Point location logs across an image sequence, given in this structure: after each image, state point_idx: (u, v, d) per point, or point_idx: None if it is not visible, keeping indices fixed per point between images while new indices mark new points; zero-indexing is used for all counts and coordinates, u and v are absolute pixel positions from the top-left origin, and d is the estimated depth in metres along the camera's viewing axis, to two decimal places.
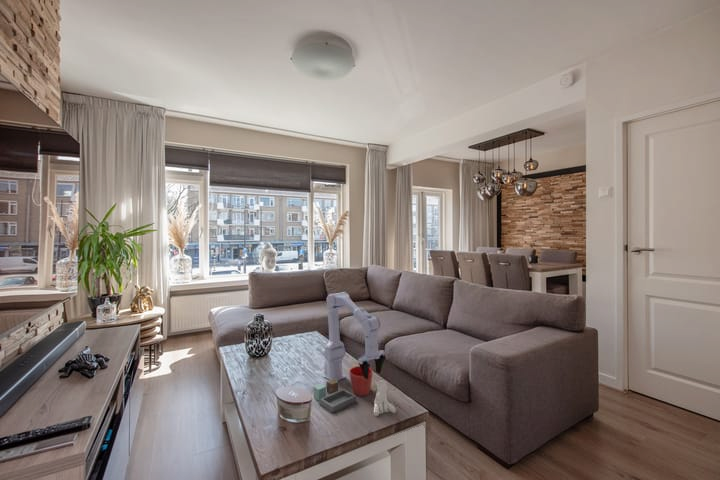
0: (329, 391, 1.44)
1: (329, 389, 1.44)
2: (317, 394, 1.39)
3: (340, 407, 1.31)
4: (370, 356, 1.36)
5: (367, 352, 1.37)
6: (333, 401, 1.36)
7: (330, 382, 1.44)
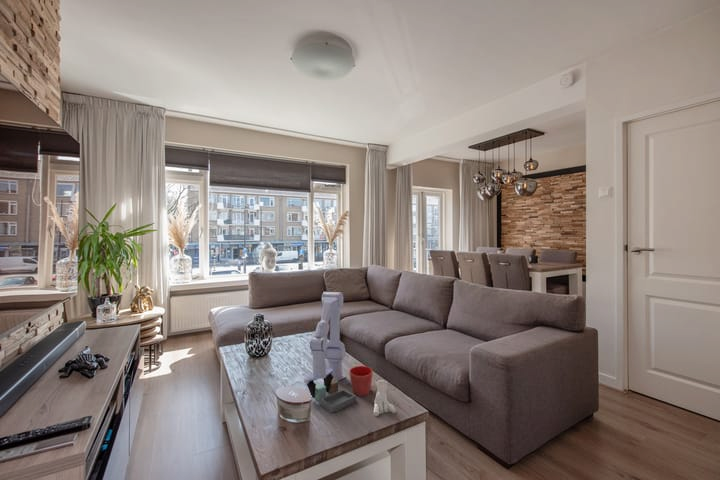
0: (329, 391, 1.44)
1: (329, 389, 1.44)
2: (317, 394, 1.39)
3: (340, 407, 1.31)
4: (317, 376, 1.38)
5: (314, 371, 1.39)
6: (333, 401, 1.36)
7: None
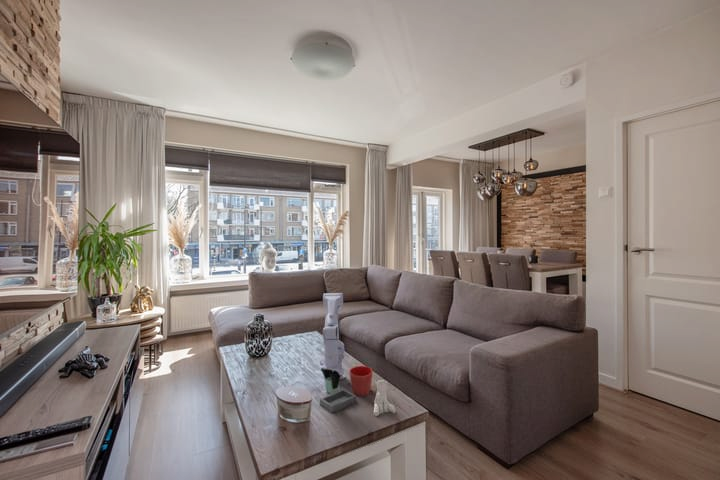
0: None
1: None
2: None
3: (340, 407, 1.31)
4: None
5: None
6: (333, 401, 1.36)
7: None
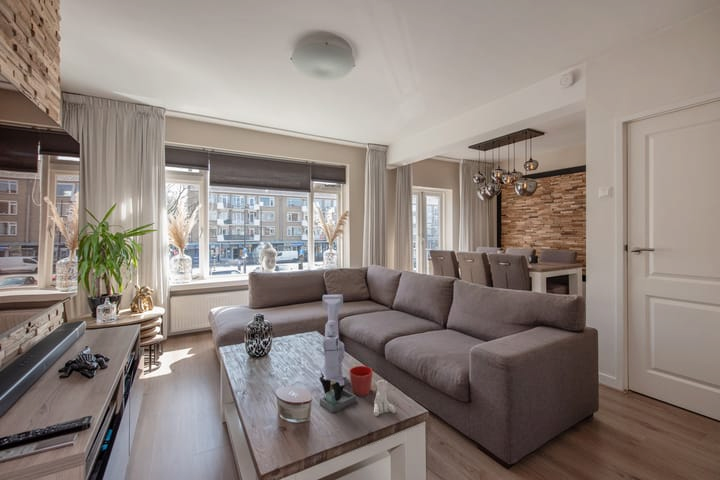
0: None
1: None
2: None
3: (340, 407, 1.31)
4: None
5: None
6: None
7: None
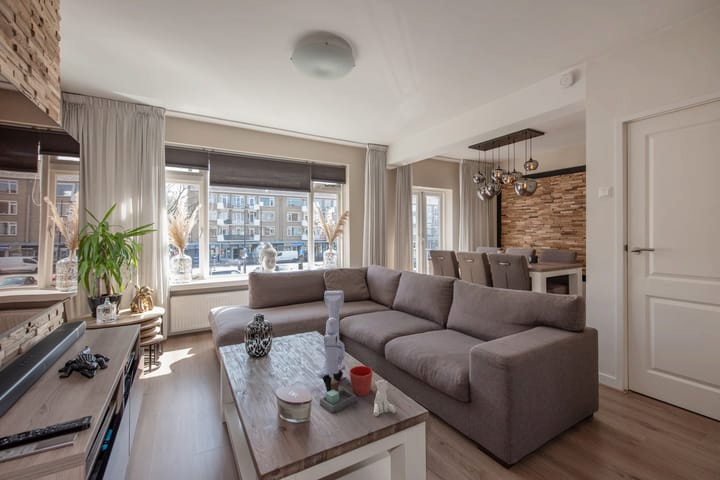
0: None
1: None
2: None
3: (340, 407, 1.31)
4: (329, 371, 1.42)
5: (327, 367, 1.43)
6: None
7: None
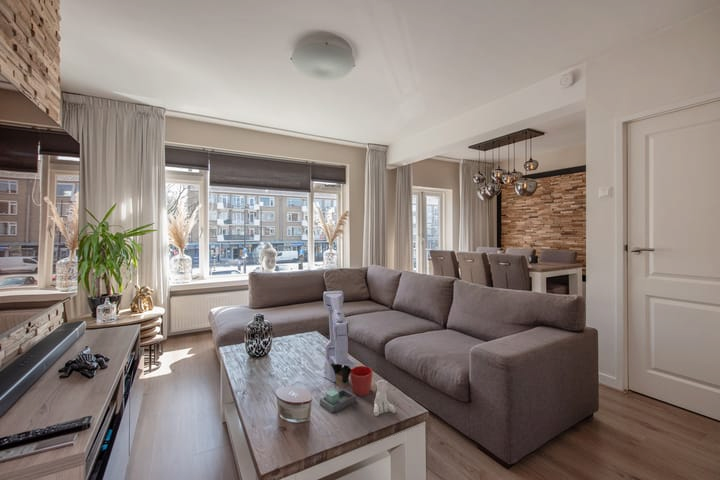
0: None
1: None
2: None
3: (340, 407, 1.31)
4: (335, 358, 1.39)
5: None
6: None
7: (339, 373, 1.39)
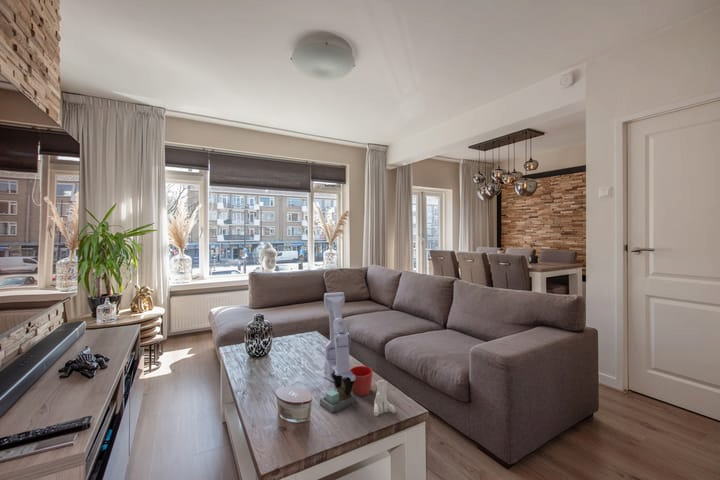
0: None
1: None
2: None
3: (340, 407, 1.31)
4: None
5: None
6: None
7: (341, 387, 1.38)
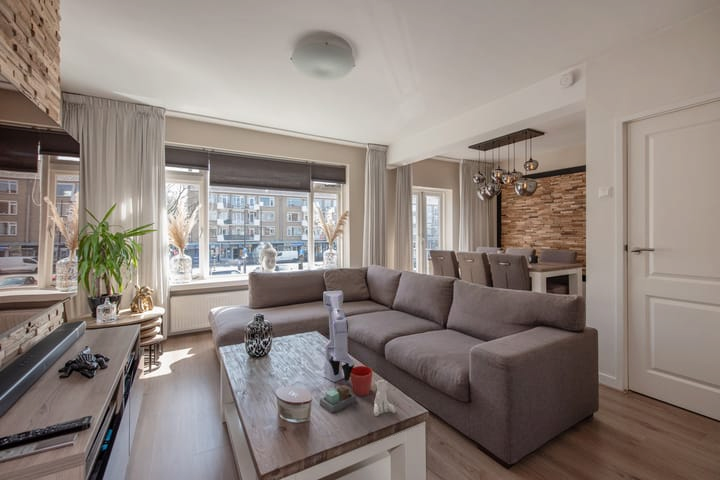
0: None
1: None
2: None
3: (340, 407, 1.31)
4: None
5: None
6: None
7: (341, 387, 1.38)
